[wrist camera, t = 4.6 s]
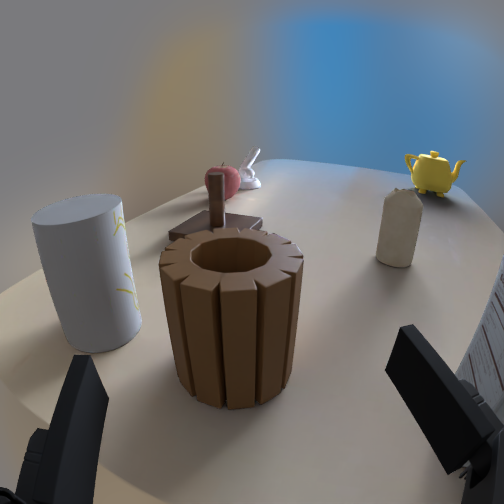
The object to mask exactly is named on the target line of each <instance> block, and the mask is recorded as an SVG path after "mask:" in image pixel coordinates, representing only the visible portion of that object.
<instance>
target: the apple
mask: <svg viewBox="0 0 504 504" xmlns="http://www.w3.org/2000/svg"><path fill="white" fill-rule="evenodd" d="M223 164H224V163H223ZM223 164H222V165H221V166H216V167H213V168H211V169H209V170H208V171H207V173H206V175H205V185H206V188H207V190H208V173H211V172H223V173H224V197H225V200H227V199H229V198H231V197H232V196H233V195H234V194H235V193H236V192H237V191H238V189H239V186H240V181H241V179H240V175H239V173H238V171H237V170H236V169H235V168H233V167H231V166H227V165H223Z"/></svg>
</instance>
